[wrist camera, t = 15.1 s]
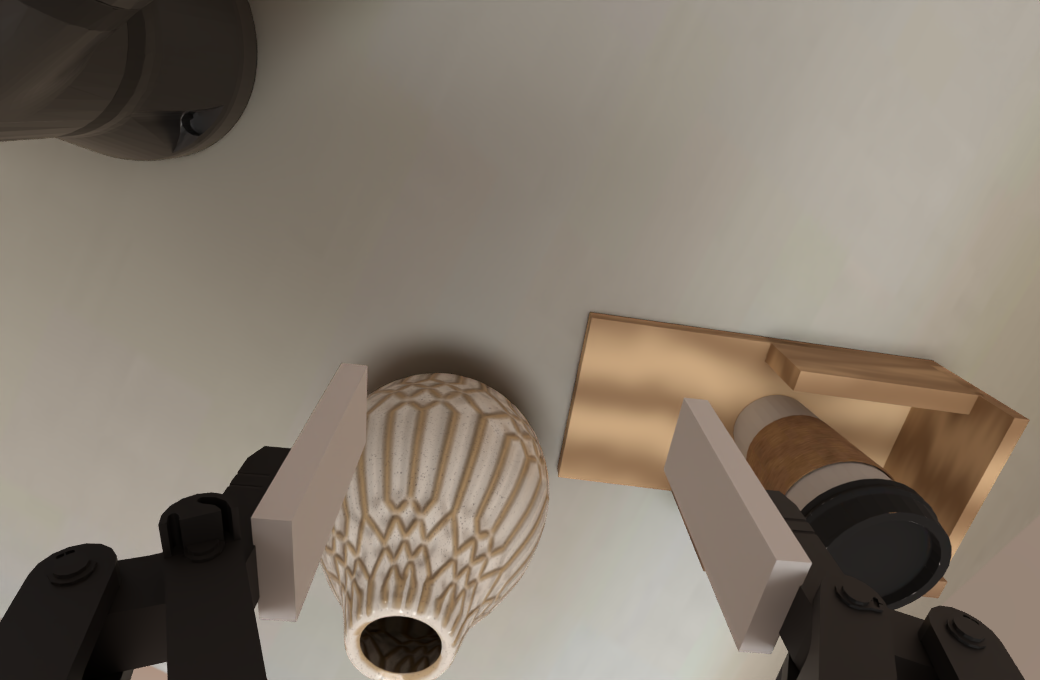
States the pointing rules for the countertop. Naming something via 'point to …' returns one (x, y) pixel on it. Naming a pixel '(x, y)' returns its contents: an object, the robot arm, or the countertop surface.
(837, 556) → the coffee cup
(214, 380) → the countertop surface
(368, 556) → the vase
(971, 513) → the shelf
